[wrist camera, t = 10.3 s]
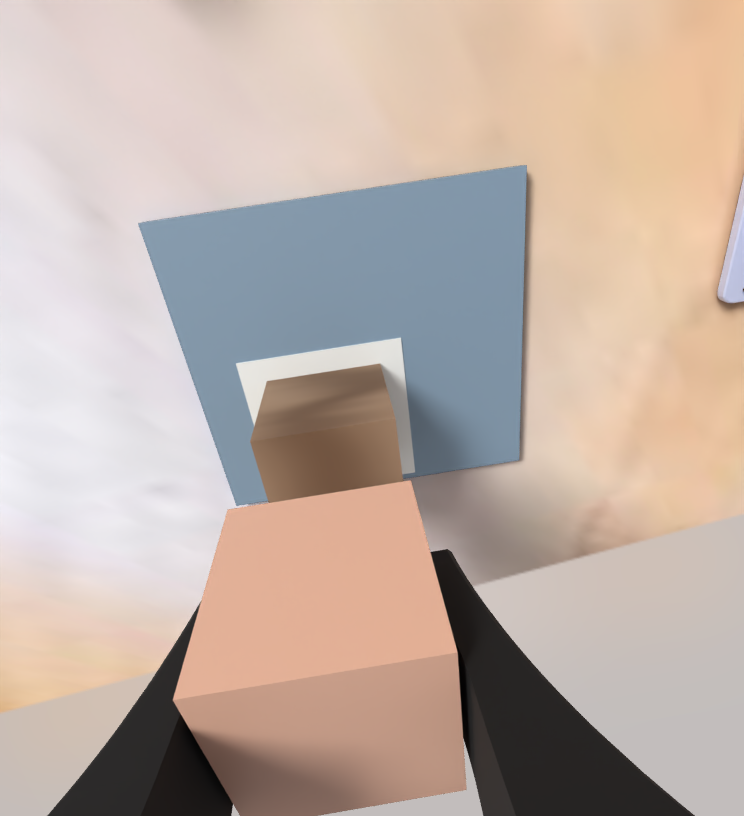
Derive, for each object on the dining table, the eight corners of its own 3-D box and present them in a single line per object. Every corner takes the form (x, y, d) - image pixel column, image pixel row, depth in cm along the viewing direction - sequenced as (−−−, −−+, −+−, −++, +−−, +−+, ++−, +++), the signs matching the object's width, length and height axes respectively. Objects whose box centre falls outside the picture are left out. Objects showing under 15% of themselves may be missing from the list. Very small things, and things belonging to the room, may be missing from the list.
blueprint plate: (520, 165, 16) (527, 165, 15) (514, 454, 21) (519, 460, 21) (143, 221, 15) (137, 223, 15) (238, 498, 21) (236, 506, 21)
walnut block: (380, 363, 18) (395, 418, 14) (392, 457, 20) (409, 528, 16) (266, 380, 18) (250, 441, 14) (291, 473, 20) (282, 548, 16)
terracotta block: (410, 480, 11) (457, 652, 7) (424, 604, 13) (466, 789, 9) (227, 509, 11) (172, 700, 7) (270, 629, 13) (247, 827, 9)
